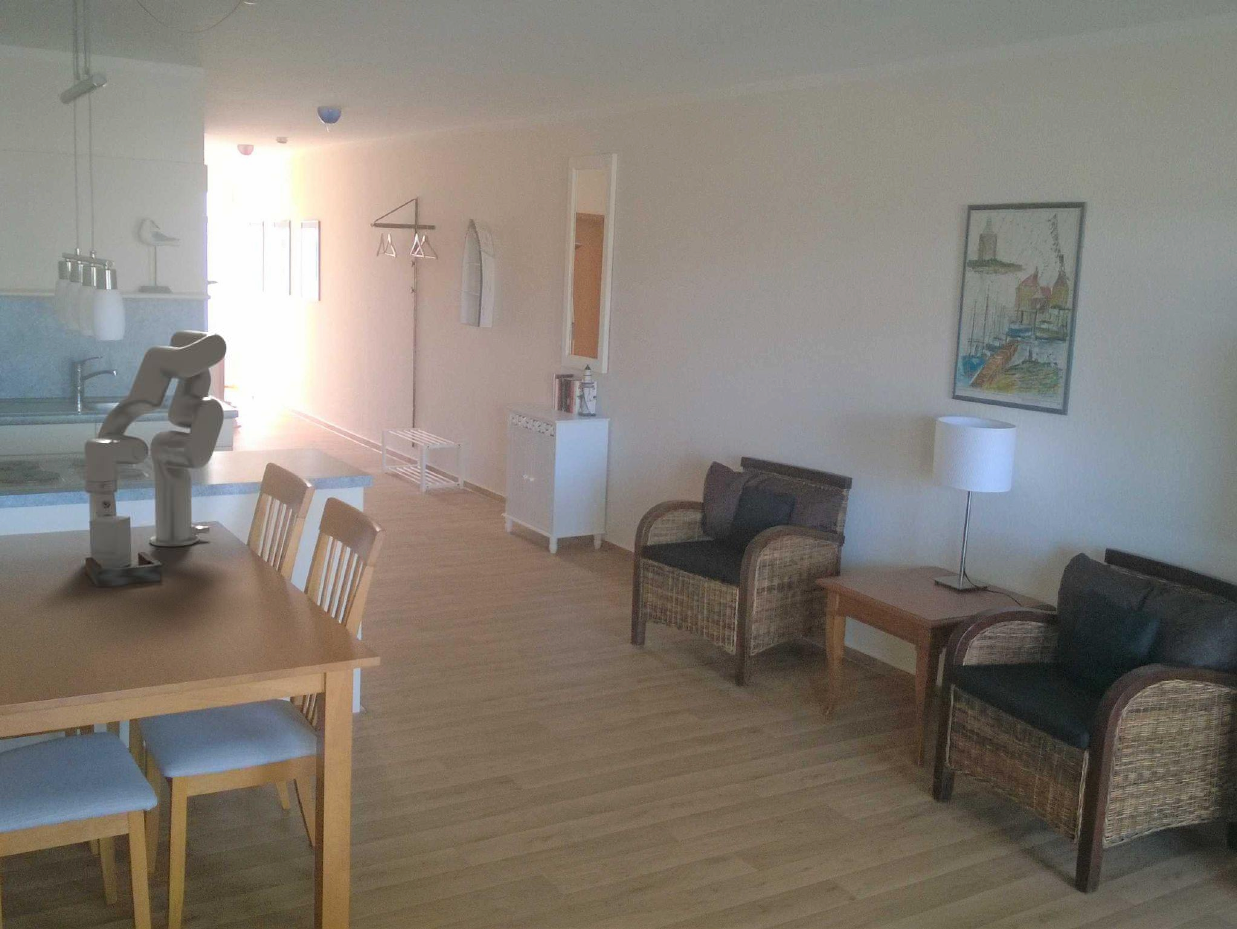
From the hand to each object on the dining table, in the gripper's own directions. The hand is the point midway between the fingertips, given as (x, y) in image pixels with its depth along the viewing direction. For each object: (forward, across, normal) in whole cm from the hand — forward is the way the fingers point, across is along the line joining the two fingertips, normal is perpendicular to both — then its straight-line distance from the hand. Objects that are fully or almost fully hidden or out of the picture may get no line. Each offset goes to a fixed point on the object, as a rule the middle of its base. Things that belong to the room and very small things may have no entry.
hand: (102, 554), depth 297 cm
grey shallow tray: (+1, -20, 0) cm, 20 cm away
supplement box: (+1, -8, 0) cm, 8 cm away
